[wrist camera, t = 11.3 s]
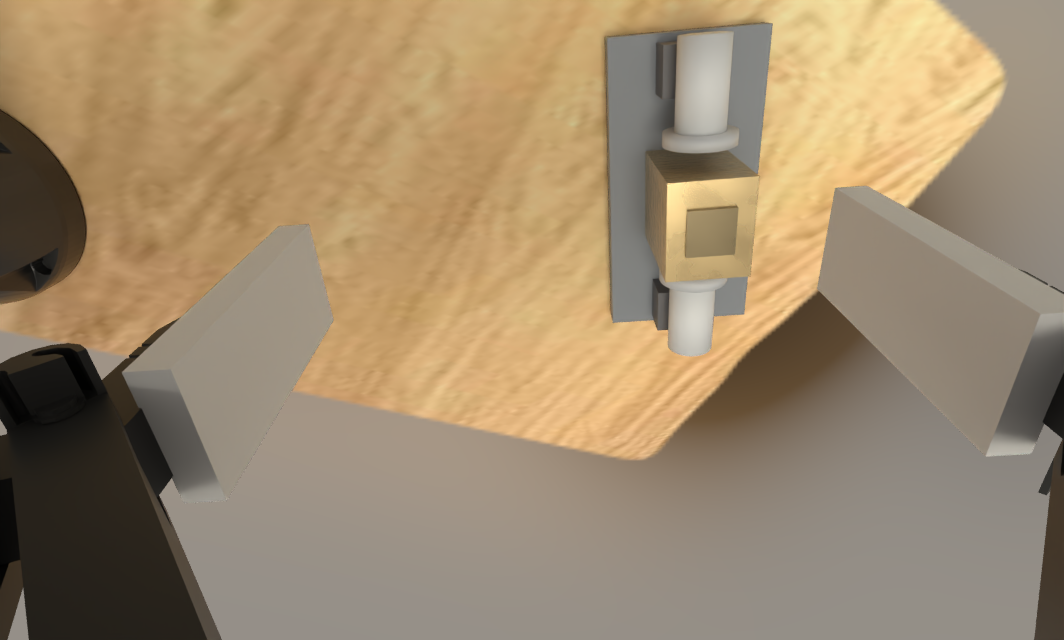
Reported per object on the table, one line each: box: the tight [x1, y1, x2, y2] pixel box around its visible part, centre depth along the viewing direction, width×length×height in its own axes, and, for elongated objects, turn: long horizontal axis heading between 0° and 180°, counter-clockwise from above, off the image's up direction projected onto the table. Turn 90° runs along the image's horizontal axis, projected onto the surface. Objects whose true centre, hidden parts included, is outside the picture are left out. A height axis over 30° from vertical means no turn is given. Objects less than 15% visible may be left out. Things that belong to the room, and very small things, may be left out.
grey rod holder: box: [605, 22, 773, 356], centre depth 39 cm, size 10×20×8 cm, turn 5°
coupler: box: [645, 150, 760, 282], centre depth 37 cm, size 5×6×8 cm
